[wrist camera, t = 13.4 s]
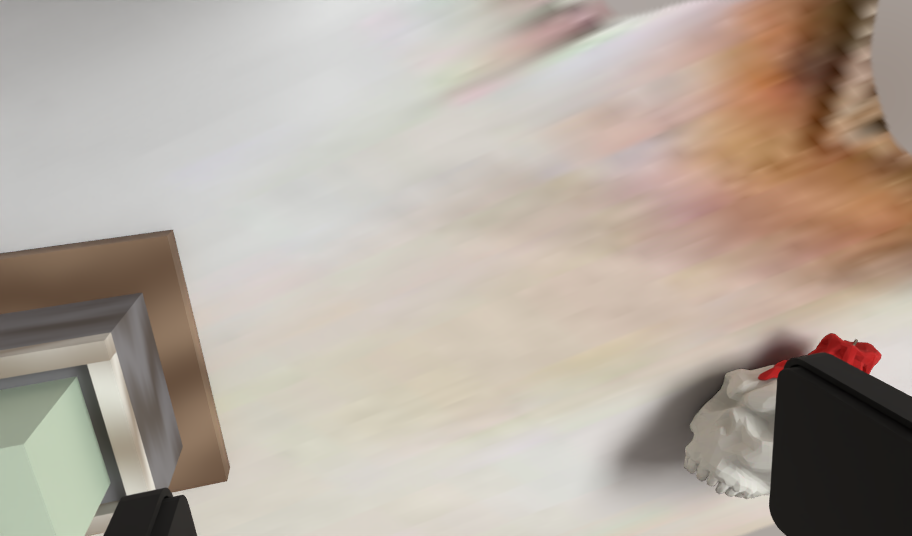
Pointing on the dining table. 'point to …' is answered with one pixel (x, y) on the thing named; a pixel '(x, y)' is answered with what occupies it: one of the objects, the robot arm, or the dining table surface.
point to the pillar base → (117, 357)
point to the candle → (751, 423)
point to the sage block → (48, 461)
